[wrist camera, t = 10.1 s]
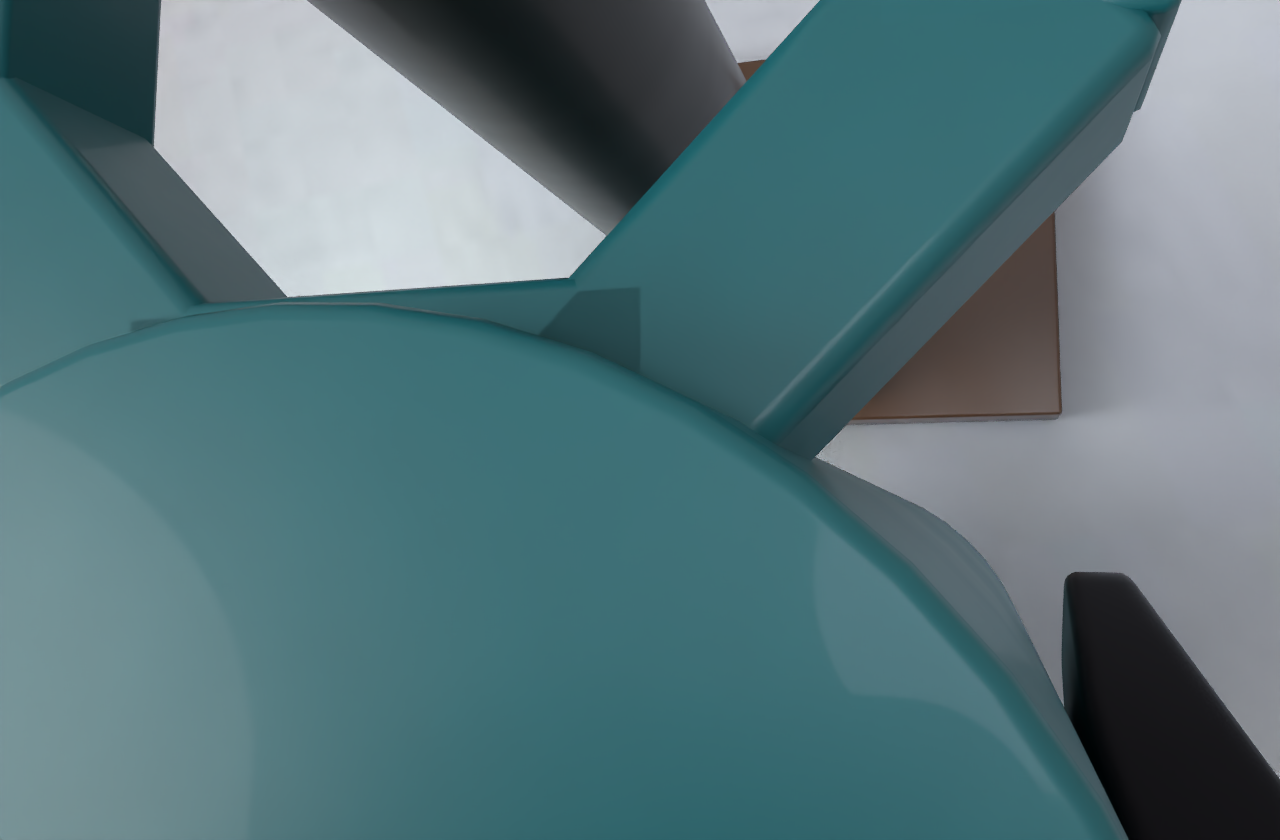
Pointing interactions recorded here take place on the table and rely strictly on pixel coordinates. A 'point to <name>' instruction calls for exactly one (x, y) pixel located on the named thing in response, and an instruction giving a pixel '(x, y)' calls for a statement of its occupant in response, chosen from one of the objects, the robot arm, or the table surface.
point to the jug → (531, 474)
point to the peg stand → (657, 135)
